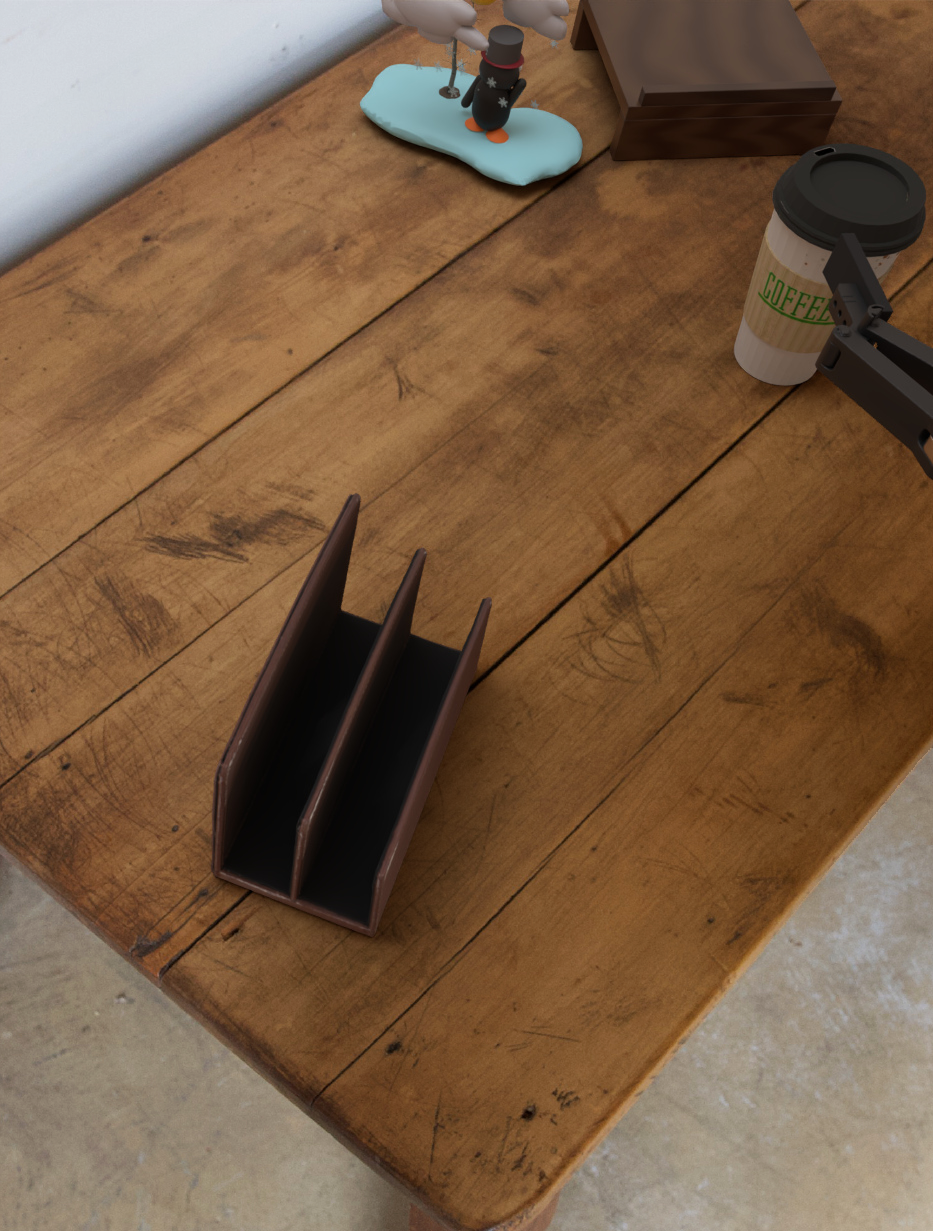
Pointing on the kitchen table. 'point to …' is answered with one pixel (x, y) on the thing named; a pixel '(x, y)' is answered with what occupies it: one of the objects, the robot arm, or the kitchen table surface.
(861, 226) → the coffee cup
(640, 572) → the kitchen table surface
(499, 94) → the penguin figurine
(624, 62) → the brown wooden stand
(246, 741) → the letter holder
